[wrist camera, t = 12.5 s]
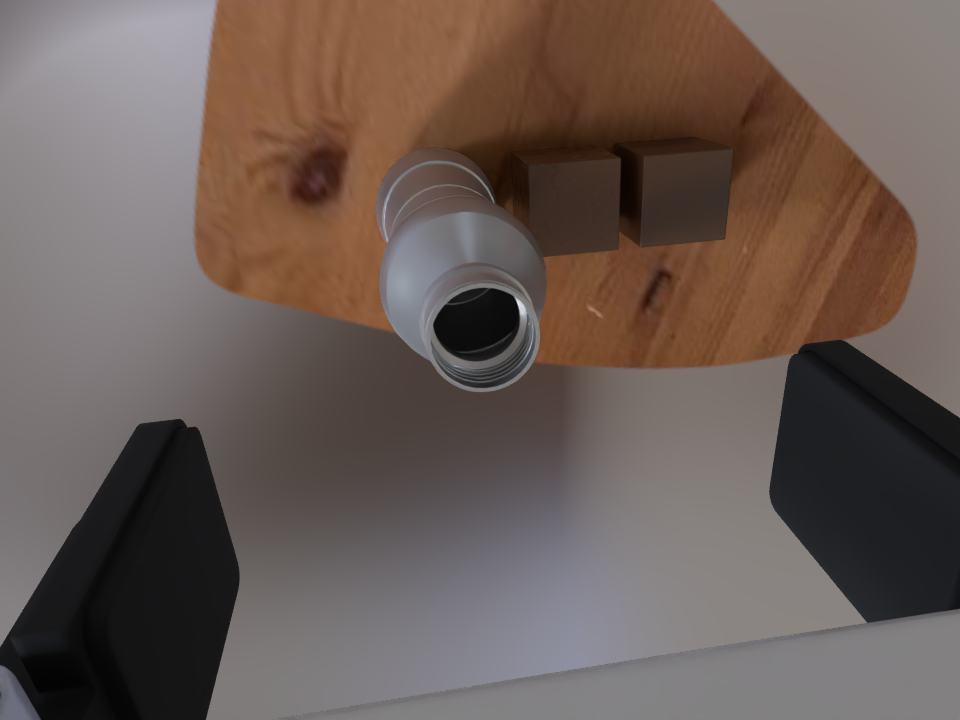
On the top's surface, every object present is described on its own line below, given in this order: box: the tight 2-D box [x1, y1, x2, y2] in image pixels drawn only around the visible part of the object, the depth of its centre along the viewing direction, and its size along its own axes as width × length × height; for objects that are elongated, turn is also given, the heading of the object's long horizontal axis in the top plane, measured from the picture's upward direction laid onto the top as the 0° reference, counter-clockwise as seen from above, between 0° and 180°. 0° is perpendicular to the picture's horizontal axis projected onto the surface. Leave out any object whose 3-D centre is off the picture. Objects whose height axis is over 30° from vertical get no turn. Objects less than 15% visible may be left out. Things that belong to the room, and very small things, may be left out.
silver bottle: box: [376, 148, 547, 392], centre depth 30 cm, size 6×7×20 cm
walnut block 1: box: [511, 145, 621, 257], centre depth 37 cm, size 5×5×5 cm
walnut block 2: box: [615, 137, 734, 247], centre depth 38 cm, size 5×5×5 cm
